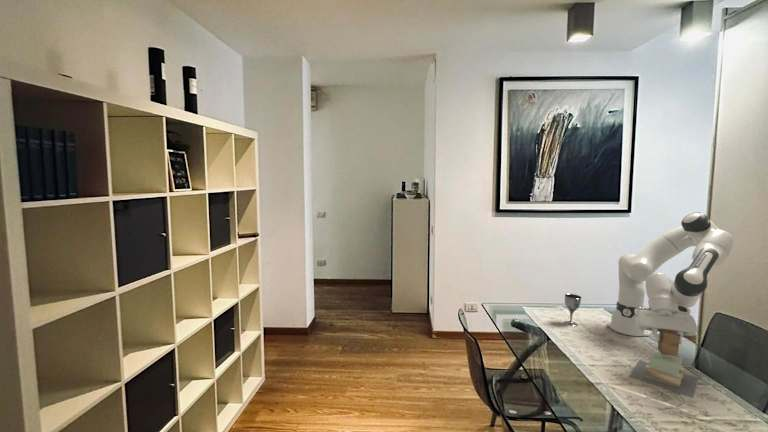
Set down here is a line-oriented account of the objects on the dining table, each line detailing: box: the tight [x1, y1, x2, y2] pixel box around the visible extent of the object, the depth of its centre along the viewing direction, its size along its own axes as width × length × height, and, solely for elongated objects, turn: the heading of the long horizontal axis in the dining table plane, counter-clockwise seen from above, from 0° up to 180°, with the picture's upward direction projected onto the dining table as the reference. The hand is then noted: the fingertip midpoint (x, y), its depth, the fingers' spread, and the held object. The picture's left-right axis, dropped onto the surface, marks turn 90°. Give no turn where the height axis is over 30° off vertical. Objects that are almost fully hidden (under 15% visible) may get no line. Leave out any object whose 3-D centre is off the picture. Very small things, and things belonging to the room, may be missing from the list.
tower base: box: [644, 360, 685, 388], centre depth 155 cm, size 11×11×4 cm
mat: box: [628, 359, 700, 398], centre depth 155 cm, size 20×20×1 cm
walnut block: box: [657, 330, 680, 357], centre depth 153 cm, size 5×5×8 cm
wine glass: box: [563, 293, 582, 327], centre depth 210 cm, size 8×8×15 cm
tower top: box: [649, 350, 683, 376], centre depth 154 cm, size 9×9×4 cm
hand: (669, 342), depth 153 cm, fingers closed on walnut block, 5 cm apart
